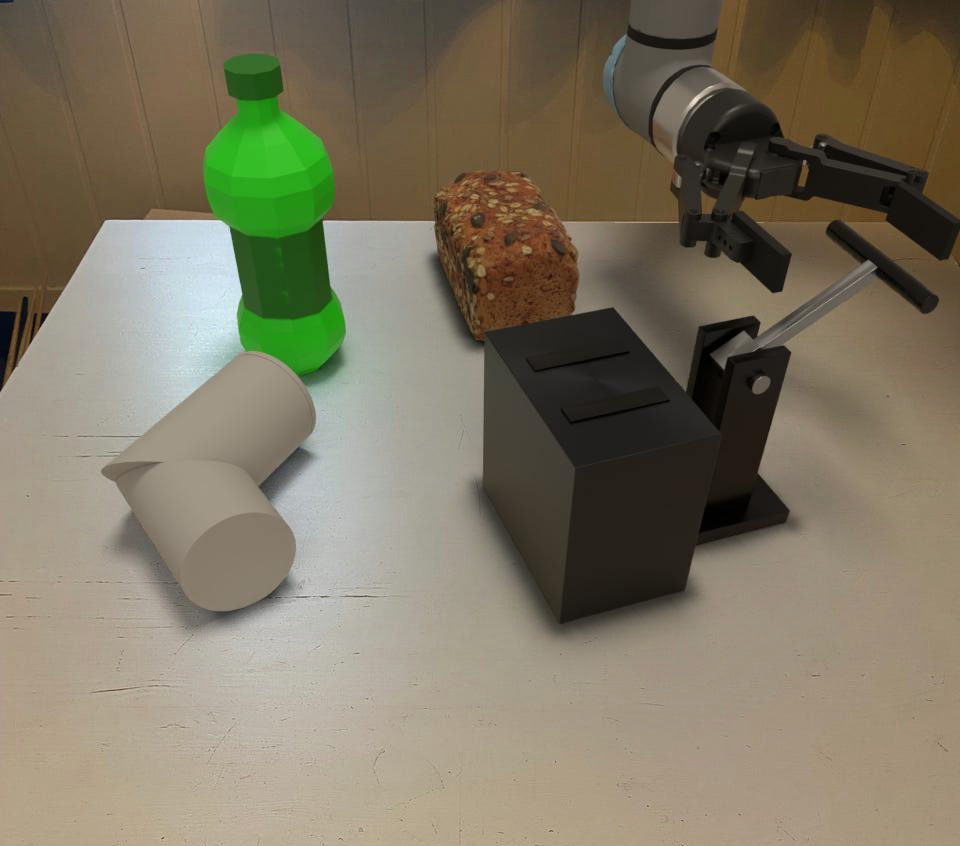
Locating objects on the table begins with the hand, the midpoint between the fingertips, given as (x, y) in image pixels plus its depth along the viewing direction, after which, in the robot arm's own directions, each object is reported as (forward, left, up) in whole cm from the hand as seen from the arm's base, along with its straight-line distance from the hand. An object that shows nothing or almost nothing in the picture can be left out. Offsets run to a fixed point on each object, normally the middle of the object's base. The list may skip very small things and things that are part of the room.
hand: (869, 257), depth 67 cm
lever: (+4, +3, -4) cm, 6 cm away
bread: (+25, -28, -19) cm, 41 cm away
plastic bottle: (+44, -16, -19) cm, 50 cm away
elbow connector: (+46, +5, -19) cm, 49 cm away
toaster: (+19, +8, -19) cm, 28 cm away
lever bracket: (+9, +4, -19) cm, 21 cm away
